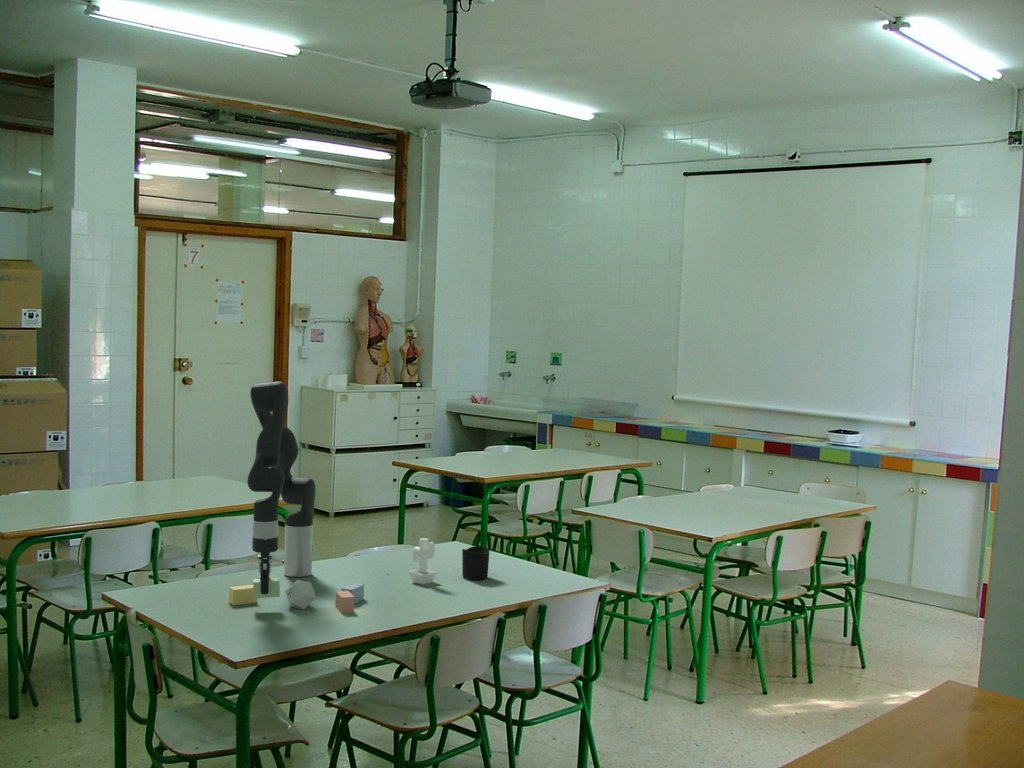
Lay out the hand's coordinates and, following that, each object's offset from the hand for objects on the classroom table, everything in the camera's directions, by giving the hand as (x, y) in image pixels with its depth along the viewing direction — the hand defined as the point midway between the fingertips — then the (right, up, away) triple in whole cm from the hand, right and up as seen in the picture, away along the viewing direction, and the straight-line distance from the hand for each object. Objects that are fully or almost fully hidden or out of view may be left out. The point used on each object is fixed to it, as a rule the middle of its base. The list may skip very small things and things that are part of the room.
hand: (264, 591), depth 298 cm
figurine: (+43, -5, +40) cm, 59 cm away
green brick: (+1, -1, 0) cm, 2 cm away
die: (+9, -6, +5) cm, 13 cm away
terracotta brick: (+23, -7, +5) cm, 24 cm away
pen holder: (+61, -6, +49) cm, 79 cm away
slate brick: (+24, -6, +14) cm, 28 cm away
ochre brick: (-9, -5, +8) cm, 13 cm away
